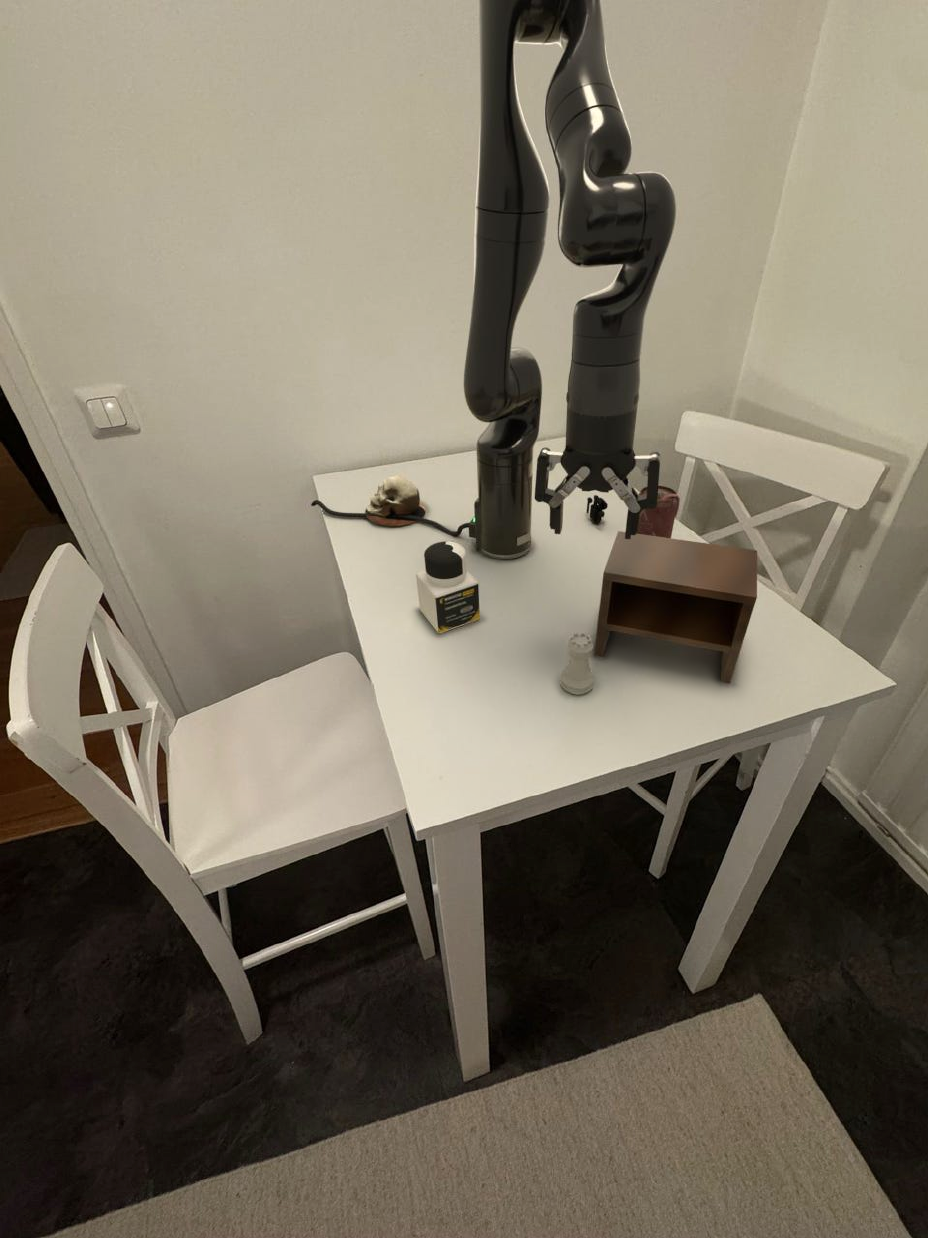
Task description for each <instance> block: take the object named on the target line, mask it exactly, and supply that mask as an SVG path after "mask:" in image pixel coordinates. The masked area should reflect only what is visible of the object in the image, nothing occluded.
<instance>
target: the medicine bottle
mask: <svg viewBox="0 0 928 1238" xmlns="http://www.w3.org/2000/svg"><path fill="white" fill-rule="evenodd" d="M423 557H424V568H425V570H421V571H418V572H416V574H415V579H416V587H417V588H416V589H417V595H418V596H417V598H418V605H419V610H420V612H421V613H422V614H423V616H424V617H425V618H426V619H427V621H428V622H429V623H430V624H431V626H432V627H433V628H434V630H435V631H436V632H437V633H438V634H442V633H445V632H447V631H450V630H451V631H452V630H454V629H456V628H459V627H461V626H464V625H468V624H470V623H473V622H475V621H479V620H480V619H481V618H480V617H481V616H480V613H481V612H480V588H479V581H478V580H477V578H475V577H474V576H473V575H472V574H471V573H470V571H468V569H467V568H468V567H467V553H466V549H465V547H464V546H463V545H461V544H460V543H458V542H454V541H438V542H436V543H433V544H431V545H429V546H428V547H427V548H425V551H424V554H423Z"/></svg>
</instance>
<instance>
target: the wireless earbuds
mask: <svg viewBox="0 0 928 1238" xmlns="http://www.w3.org/2000/svg"><path fill="white" fill-rule="evenodd" d="M586 500H587V501H586V503H587V504H586V512H585V513H586V514H589V518H590V520H591V521H592V522H593V523H594V524H596V526H600V524H601V522H602V520H603V519H602V518H604V517H605V514H606V512H605V510H606V509H608V506H609V505H608V503H607V501H605V499H603V497H600V496H599V495H597V494H595V495H593V498H592V497H590V496H588V497H587V499H586Z"/></svg>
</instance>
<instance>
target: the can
mask: <svg viewBox="0 0 928 1238" xmlns="http://www.w3.org/2000/svg"><path fill="white" fill-rule="evenodd" d="M638 494H639V495H643V494H647V486H644V487H642V488H641V490H640V492H638ZM680 500H681V498H680V496H679V495H678V494H677V492H676V491H675V490H674V489H672V487H668V486H664V485H658V498H657V506H656V507H655V508H654V509H649V508H646V509H643V510H642V511H641V512H640V515H639V523H638V531H637V533H636V534H643V535H650V536H657V537H665V538H672V535H673V530H674V524H675V520H676V517H677V516H678V513H679V508H680Z"/></svg>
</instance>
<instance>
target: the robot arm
mask: <svg viewBox="0 0 928 1238" xmlns="http://www.w3.org/2000/svg"><path fill="white" fill-rule="evenodd" d="M478 1H479V2H478V5H479V7H478V8H479V9H478V11H479V13H478V17H479V18H478V22H479V23H478V25H479V29H478V30H479V97H480V99H479V100H480V101H479V102H480V103H479V104H480V106H479V109H480V111H479V113H480V114H479V115H480V116H479V139H478V159H477V160H478V161H477V178H476V195H475V211H474V212H475V214H474V258H473V259H474V260H473V262H474V263H473V276H472V277H473V278H472V293H471V294H472V295H471V309H470V311H471V312H470V313H471V314H470V320H469V321H470V323H469V330H468V337H467V338H468V339H467V346H466V353H465V362H464V369H463V370H464V371H463V394H464V400H465V403H466V406H467V407H468V410H469V411H470V413H471V415H472V416H473V417H474V418H475V419H476V420H477V421H480V422H481V423H489V424H488V425H487V427H486V428H485V430H483V432H482V433H481V434H480V435H479V436H478V438H477V440H476V445H475V446H476V449H475V450H476V474H477V475H476V476H477V498H476V500H475V501H474V504H473V509H474V510H473V511H474V512H473V513H474V516H473V517H472V519H470V521H469V522H465V523H462V524H460V525H459V526H458V527H457V529H456V530H455V531H453V530H450V529H449V528H447V527H445V526H444V525H442V524H440V523H439V522H437V521H434V520H432V519H428V518H424V517H422V518H421V517H417V516H412V515H406V514H403V515H393V516H394V517H399V518H404V519H410V520H415V521H416V522H420V523H423V524H427V525H430V526H432V527H434V528H436V529H438V530H440V531H441V532H443V533H445V534H447V535H449V536H453V537H459V536H461V534H462V532H463V530H464V529H468V538H471V539H475V551H477V552H481V553H482V554H483V555H485V556H487V557H488V558H492V559H495V560H513V559H514V560H515V559H518V558H520V557H523V556H525V555H526V554H528V553H529V552H530V550H531V548H532V515H533V514H532V513H533V512H532V510H533V507H532V506H533V477H534V476H533V472H534V471H533V470H534V449H535V445H536V442H537V441H538V438H539V433H540V423H541V410H542V400H543V399H542V398H543V397H542V396H543V378H542V373H541V368H540V366H539V363H538V361H537V359H536V358H535V356H534V355H533V353H531V352H530V351H529V350H528V349H526V348H522V347H519V346H518V347H517V346H516V347H515V346H514V347H512V343H513V337H514V336H513V335H514V330H515V326H516V322H517V318H518V316H519V313H520V311H521V308H522V306H523V303H524V302H525V299H526V298H527V296H528V293H529V291H530V288H531V286H532V284H533V281H534V279H535V277H536V275H537V273H538V271H539V267H540V265H541V261H542V259H543V256H544V250H545V245H546V238H547V227H548V219H549V208H550V207H549V206H550V185H549V182H548V178H547V175H546V172H545V169H544V166H543V163H542V160H541V158H540V155H539V152H538V150H537V148H536V146H535V143H534V141H533V139H532V136H531V133H530V131H529V128H528V126H527V123H526V120H525V117H524V114H523V111H522V110H523V109H522V106H521V103H520V98H519V94H518V93H519V92H518V86H517V78H516V60H515V58H516V57H515V52H516V51H515V49H516V48H515V47H516V44H524V45H525V44H527V45H543V46H544V45H545V46H546V45H547V46H548V45H554V44H557V45H559V47H560V48H561V49H562V51H563V53H562V55H561V56H560V59H559V61H558V63H557V65H556V66H555V67H554V71H553V72H552V74H551V77H550V80H549V83H548V85H547V89H546V93H545V98H544V110H543V111H544V113H543V114H544V117H543V118H544V125H545V129H546V135H547V139H548V142H549V146H550V149H551V152H552V155H553V159H554V163H555V165H556V168H557V175H558V185H559V187H558V188H559V189H558V190H559V202H558V203H559V208H558V217H557V218H558V219H557V239H558V240H557V241H558V246H559V248H560V251H561V252H562V255H563V256H564V257H565V259H566V260H567V261H568V262H569V263H571V264H572V265H573V266H576V267H578V268H582V269H583V268H584V269H586V268H589V269H590V268H598V267H606V266H607V267H608V266H616V265H617V266H618V265H620V268H619V270H618V272H617V274H616V276H615V278H614V280H613V281H612V282H611V283H610V284H609V285H607V286H606V287H604V288H602V289H600V290H597V291H594V292H591V293H589V294H587V295H585V296H583V297H581V298H580V299H579V300H578V301H577V302H576V303H575V306H574V309H573V316H572V337H571V338H572V339H571V360H570V369H569V373H568V380H567V392H566V396H565V397H566V398H565V399H566V422H565V423H566V425H565V426H566V427H565V446H564V450H563V452H561V451H552V450H551V449H550V448H549V447H546V446H545V447H543V448H541V450H540V452H539V454H538V456H537V460H536V473H535V486H534V500H535V501H536V502H537V503H545V504H547V505H548V506H549V528H550V530H554V535H561V533H562V531H563V523H564V521H563V520H564V500H565V499H567V497H568V498H569V496H570V495H571V494H572V493H573V492H574V491H575V490H576V488H578V489H580V490H581V492H594V491H597V492H598V493H599V492H600V493H608V494H609V492H610V491H614V493H615V494H616V495H617V497H618V498H619V499H620V500H621V501H623V503H624V505H626V507H627V512H626V513H627V515H626V524H625V531H624V532H625V539H631V535H636V533H637V531H638V523H639V515H640V512H641V511H642V510H643V509H646V508H649V509H654V508H655V507H656V506H657V498H658V486H659V483H660V468H661V454H660V453H659V452H658V451H652V452H650V454H648V455H636V453H635V451H634V441H635V434H636V433H635V432H636V423H637V413H638V406H639V400H640V387H641V354H642V346H643V337H644V336H643V335H644V324H645V317H646V313H647V309H648V306H649V303H650V300H651V297H652V294H653V291H654V288H655V284H656V282H657V278H658V276H659V273H660V271H661V267H662V266H663V262H664V260H665V257H666V254H667V252H668V250H669V246H670V243H671V240H672V237H673V233H674V229H675V225H676V217H677V203H676V196H675V192H674V189H673V186H672V184H671V182H670V181H669V179H668V178H667V177H666V176H665V174H662V173H660V172H656V171H641V172H640V171H639V172H632V173H631V172H630V173H629V172H628V173H626V171H627V170H628V167H629V165H630V162H631V158H632V154H633V143H632V137H631V131H630V129H629V126H628V122H627V119H626V116H625V114H624V111H623V108H622V105H621V102H620V99H619V96H618V94H617V91H616V87H615V85H614V81H613V78H612V75H611V71H610V67H609V62H608V56H607V48H606V40H605V31H604V21H603V13H602V6H601V5H602V4H601V0H478ZM557 464H560V465H561V467H562V469H563V470H564V472H565V473H566V476H565V477H564V478H563V479H562V481H561V482H560V483H559V485H558V486H557V487H556V488H555V489H551V488H549V479H550V478H549V477H550V472H553V471H554V470H555V467H556V465H557ZM635 467H636V468H639V470H640V474H642V476H644V477H647V484H646V487H647V494H643V495H639V492H638V491H637V490H636V488H635V487H634V484H633V482H632V480H631V479H630V478H629V475H630V474H631V472H632V471H634V469H635ZM316 505H317V506H319V508H321V509H322V511H324V512H325V513H326V514H329V515H331V516H335V517H340V518H364V519H368V517H367V516H366V515H368V516H378V515H375V514H372V513H365V512H361V513H360V512H341V511H335V510H332V509H330V508H329V507H328V506H326V505H325V504H324V503H323V502H322V501H321V500H318V499H315V500H313V501H312V503H311V504H310V506H311V507H315V506H316Z"/></svg>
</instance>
